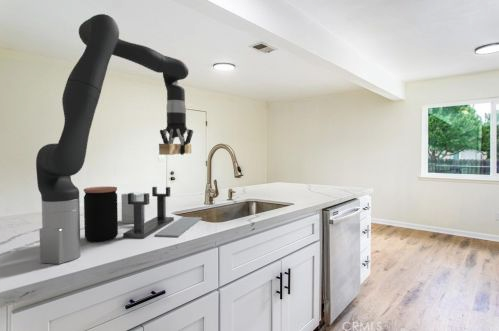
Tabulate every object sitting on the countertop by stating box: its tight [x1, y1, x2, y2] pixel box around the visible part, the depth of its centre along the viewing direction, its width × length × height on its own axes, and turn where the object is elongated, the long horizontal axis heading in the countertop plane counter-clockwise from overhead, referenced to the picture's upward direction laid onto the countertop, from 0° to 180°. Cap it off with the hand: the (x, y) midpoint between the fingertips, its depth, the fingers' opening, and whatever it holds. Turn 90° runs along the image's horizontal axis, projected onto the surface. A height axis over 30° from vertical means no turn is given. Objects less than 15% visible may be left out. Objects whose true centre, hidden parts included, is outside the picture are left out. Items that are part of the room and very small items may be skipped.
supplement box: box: [121, 191, 146, 224], centre depth 132 cm, size 7×7×13 cm
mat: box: [154, 216, 202, 238], centre depth 124 cm, size 30×9×1 cm, turn 173°
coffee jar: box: [83, 186, 119, 243], centre depth 106 cm, size 11×11×18 cm
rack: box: [122, 186, 175, 239], centre depth 121 cm, size 28×8×16 cm, turn 173°
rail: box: [158, 143, 192, 156], centre depth 122 cm, size 26×4×4 cm, turn 174°
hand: (177, 154), depth 122 cm, fingers closed on rail, 4 cm apart
